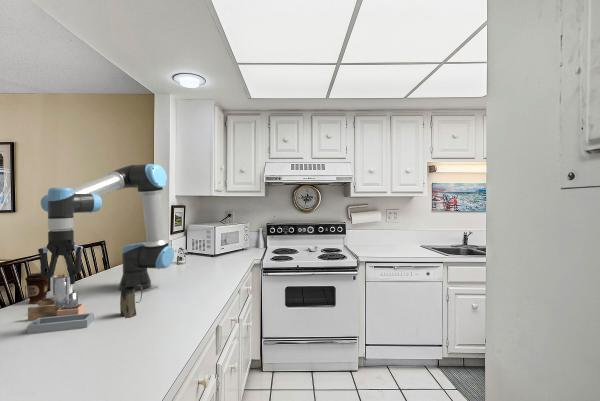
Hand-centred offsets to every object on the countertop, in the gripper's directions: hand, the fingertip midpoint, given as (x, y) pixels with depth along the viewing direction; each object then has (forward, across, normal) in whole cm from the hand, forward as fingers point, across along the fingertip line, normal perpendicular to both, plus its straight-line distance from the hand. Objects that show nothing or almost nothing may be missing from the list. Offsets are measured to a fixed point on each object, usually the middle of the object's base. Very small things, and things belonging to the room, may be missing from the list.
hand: (61, 293), depth 119 cm
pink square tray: (+12, 0, -9) cm, 15 cm away
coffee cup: (+13, +23, -39) cm, 48 cm away
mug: (+13, -22, -6) cm, 26 cm away
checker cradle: (+12, +10, -16) cm, 22 cm away
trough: (+13, 0, 0) cm, 13 cm away
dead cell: (+12, 0, -9) cm, 15 cm away
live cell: (+4, 0, 0) cm, 4 cm away
